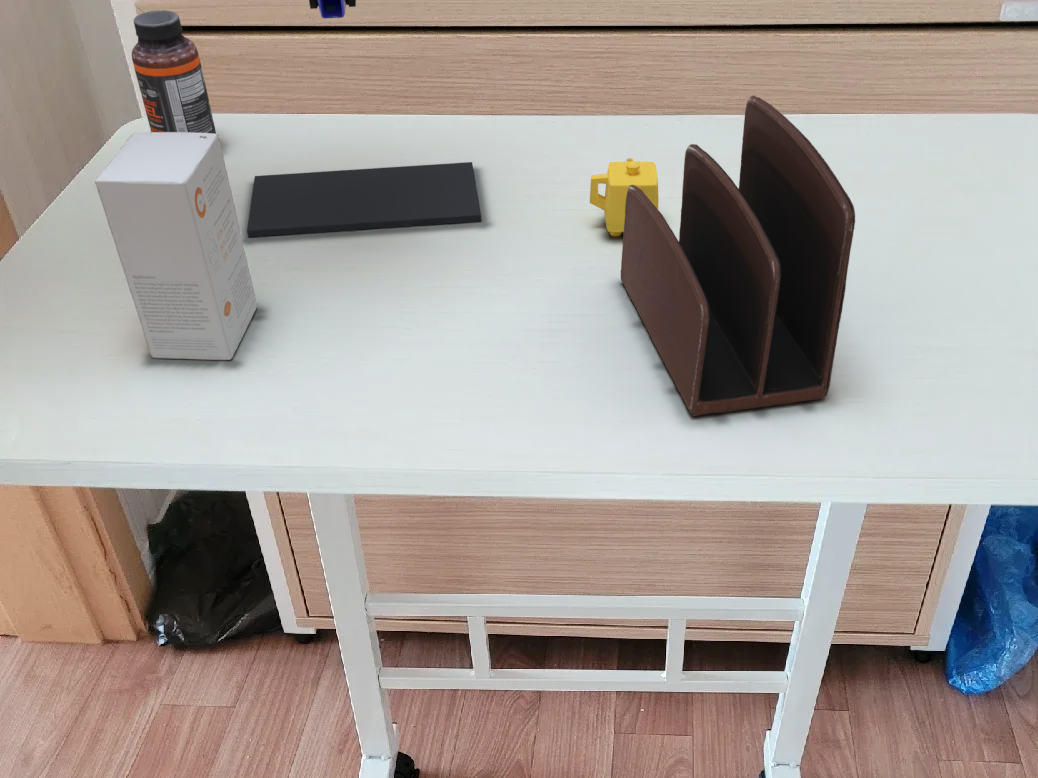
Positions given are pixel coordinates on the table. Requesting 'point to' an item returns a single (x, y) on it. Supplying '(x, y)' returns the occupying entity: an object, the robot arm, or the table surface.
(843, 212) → the letter holder
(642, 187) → the teapot
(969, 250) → the table surface
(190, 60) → the supplement bottle
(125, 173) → the small box
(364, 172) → the mat
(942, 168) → the table surface
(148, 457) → the table surface
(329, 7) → the eraser
